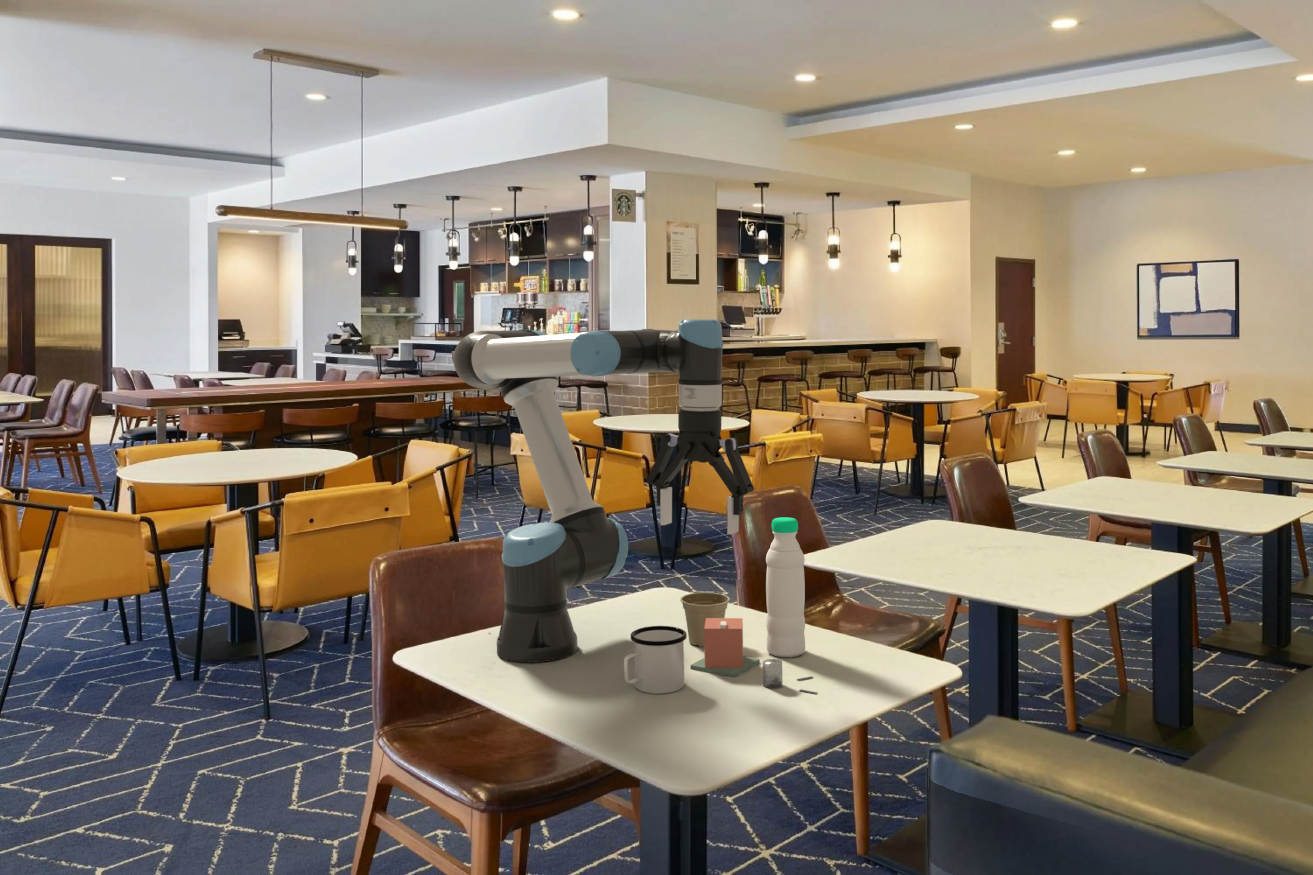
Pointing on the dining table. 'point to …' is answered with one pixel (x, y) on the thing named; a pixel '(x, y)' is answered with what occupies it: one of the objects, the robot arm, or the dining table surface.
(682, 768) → the dining table surface
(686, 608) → the flower pot
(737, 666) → the orange box with tab
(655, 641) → the mug
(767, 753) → the dining table surface
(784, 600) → the water bottle
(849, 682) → the dining table surface
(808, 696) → the dining table surface
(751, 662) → the pad
